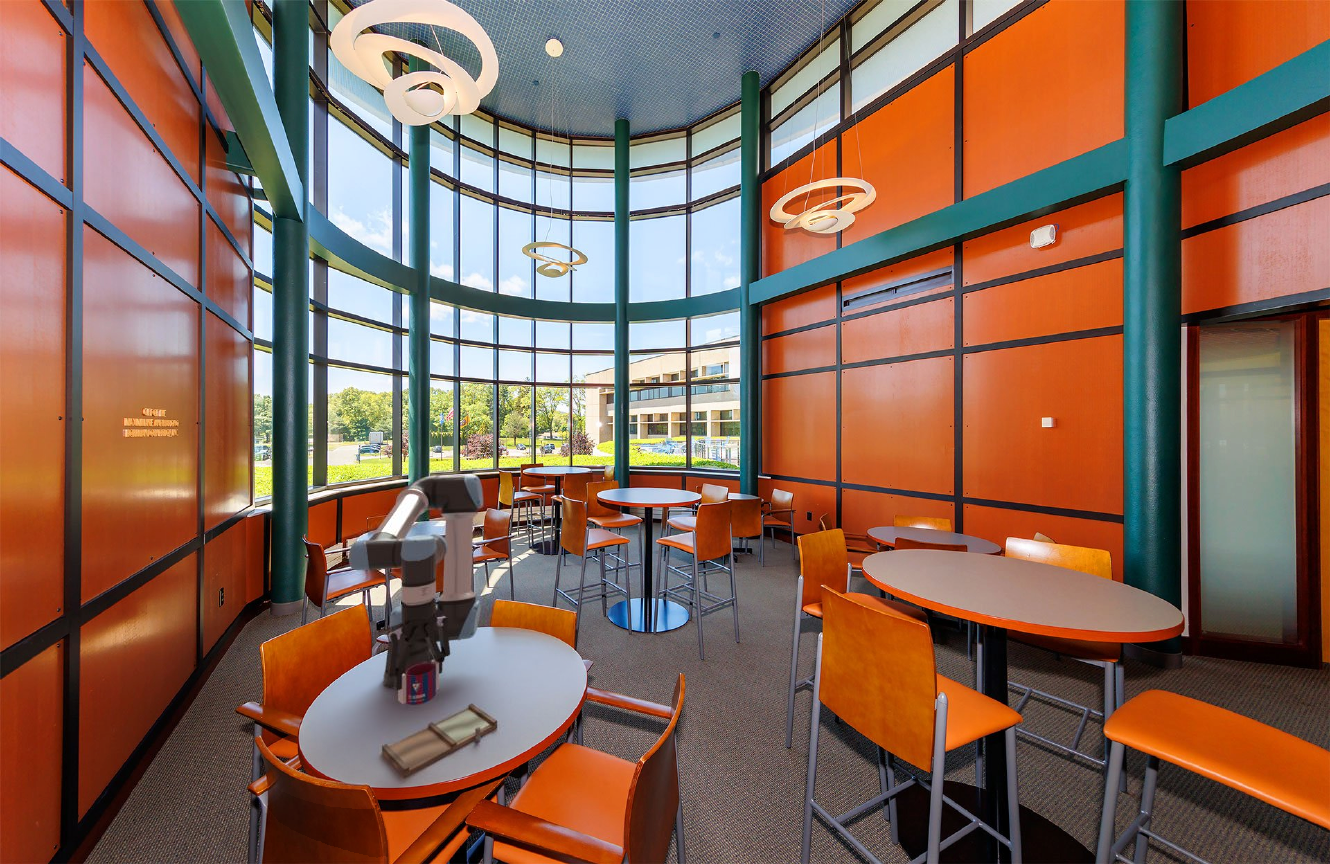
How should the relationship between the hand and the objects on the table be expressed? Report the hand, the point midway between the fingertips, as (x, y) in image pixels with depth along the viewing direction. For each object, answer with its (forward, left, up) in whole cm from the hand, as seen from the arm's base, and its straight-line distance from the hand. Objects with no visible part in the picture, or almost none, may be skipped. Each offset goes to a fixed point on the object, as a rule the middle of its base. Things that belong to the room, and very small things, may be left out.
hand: (419, 694), depth 113 cm
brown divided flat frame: (0, +6, -14) cm, 15 cm away
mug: (0, +1, 0) cm, 1 cm away
